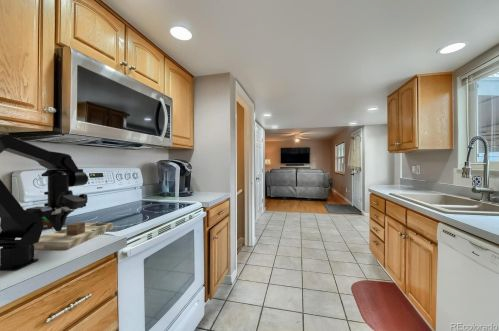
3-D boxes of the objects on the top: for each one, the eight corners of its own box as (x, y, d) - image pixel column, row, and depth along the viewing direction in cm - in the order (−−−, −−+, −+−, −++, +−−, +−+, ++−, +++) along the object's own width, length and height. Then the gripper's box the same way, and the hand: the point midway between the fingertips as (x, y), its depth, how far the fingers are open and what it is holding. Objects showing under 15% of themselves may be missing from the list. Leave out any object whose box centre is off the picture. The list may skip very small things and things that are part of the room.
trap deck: (68, 249, 76) (68, 240, 75) (24, 248, 76) (24, 240, 76) (113, 228, 99) (113, 222, 99) (79, 227, 100) (79, 221, 100)
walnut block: (76, 235, 83) (76, 225, 82) (66, 235, 83) (66, 225, 83) (85, 232, 87) (85, 222, 86) (75, 231, 87) (75, 222, 87)
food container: (47, 230, 95) (47, 208, 95) (36, 229, 97) (36, 207, 97) (74, 223, 108) (74, 203, 107) (65, 222, 109) (65, 202, 109)
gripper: (56, 192, 67) (56, 240, 67) (99, 185, 86) (99, 224, 86) (22, 191, 68) (22, 240, 68) (72, 185, 86) (72, 223, 86)
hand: (58, 231), depth 77 cm, fingers closed
